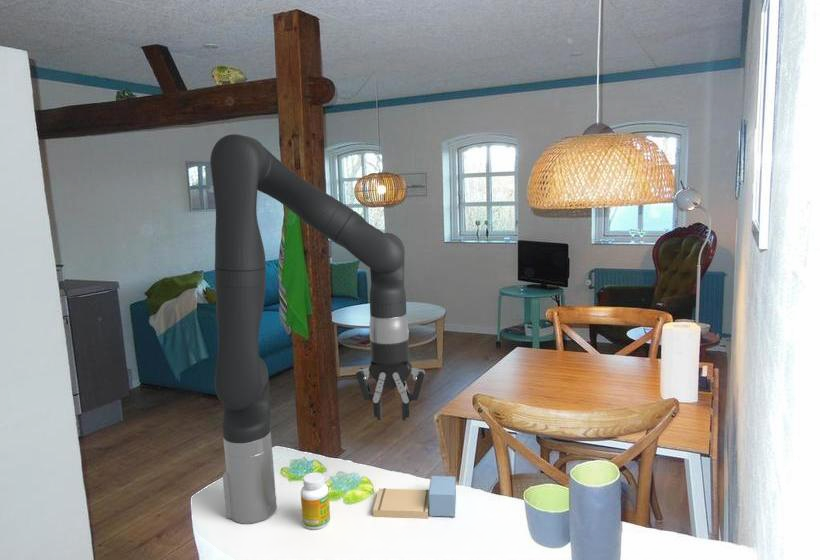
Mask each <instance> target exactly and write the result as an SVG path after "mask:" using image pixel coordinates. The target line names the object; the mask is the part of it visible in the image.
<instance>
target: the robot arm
mask: <svg viewBox="0 0 820 560" xmlns="http://www.w3.org/2000/svg"><path fill="white" fill-rule="evenodd" d="M209 161H210V171H211V180H212V189H213V195H214V206H215V208H214V209H215V228H214V229H215V232H214V233H215V235H214V238H215V239H214V247H215V249H214V250H215V251H214V257H215V258H214V289H215V307H216V310H215V311H216V322H217V333H218V337H217V338H218V340H217V341H218V343H217V357H216V358H217V359H216V366H215V367H216V368H215V375H214V391H215V394H216V396H217V398H218V400H219V401H220V402H221V404H223V415H222V416H223V417H222V424H221V429H222V439H223V448H224V460H225V468H226V470H225V472H224V473H223V474H222V483H223V492H224V493H223V494H224V503H225V513H226V515H225V516H226V519H232V520H233V521H235V522H237V523H240V524H255V523H259V522H262V521H264V520H267V519H268V518H270V517H271V516H272V515H274V514H275V513H276V510H277V495H276V492H277V491H276V482H275V467H274V458H273V457H274V455H273V445H272V444H273V443H272V433H271V431H272V430H271V414H272V413H271V410H272V408H271V407H272V406H271V405H272V404H271V395H270V394H271V390H270V378H269V371H268V367H267V365H266V362H265V361H264V359H262V357H261V356H260V352H259V335H260V328H261V324H262V323H261V321H262V318H263V317H262V316H263V311H264V304H265V297H266V287H267V285H266V282H267V280H266V279H267V277H266V274H267V271H266V269H267V266H266V265H267V261H266V253H265V248H264V242H263V239H262V236H261V230H260V227H259V223H258V222H259V221H258V215H257V214H258V213H257V202H258V200H257V199H258V192H261V193H263V194H265V195H267V196H269V197H271V198H273V199H274V200H276V201H277V202H279V203H280V204H281V205H283V206H285V207H286V208H287V209H289V211H291V212H292V213H294V214H295V215H296V216H297V217H299V219H301V221H303V222H304V223H305V224H307V225H308V227H311V228H312V229H313V230H315V231H316V232H317V233H319V234H321V235H323V237H325V238H327V239H328V240H330V241H332V242H333V243H335V244H337V245H339V246H340V247H343V248H344V249H346V251H348V253H350V254H351V255H352V256H354V257H355V258H356V259H357V260H359V261H360V262H361V263H362V264H364V265H365V266H367V267H368V268H369V270H370V271H369V272H370V289H369V345H370V365H369V367H366V368H365V367H364V368H363V367H359V368H358V370H357V371H356V373H355V376H356V379H357V382H358V384H359V388H360V390H361V393H362V396H363V399H365V401H367V400H369V401H371V402H372V403H373V415H374V418H376V420H377V421H381V420H382V418H383V403H382V402H383V400H382V398H381V397H382V396H381V395H382V392H383V390H384V388H397V391H398V393H399V395H400V396H401V399H402V402H401V417H402V418H401V419H402V421H407V419H409V417H410V414H411V404H410V403H411V402H412V401H418V399H419V395H420V391H421V388H422V384H423V381H424V378H425V373H426V370H425V368H419V369H418V368H415V367H413V366H412V364H411V362H410V347H409V346H410V343H409V335H410V330H409V323H408V322H409V321H408V317H407V295H406V288H405V253H406V252H405V246H404V245H405V244H404V242H402V240H401V238H400V237H399V236H397V235H396V234H393V233H390V232H383V231H381V230H379V228H377V227H375V226H374V225H372V224H370V223H369V222H367V220H366V219H365V218H364V217H363V216H362V215H361V214H360V213H359V212H356V210H353V209H352V208H351V207H349V206H348V205H346V204H344V203H343V202H341V201H339V200H338V199H336V198H335V197H333V196H332V195H330V194H328V193H327V192H325V191H324V190H321V189H320V188H318V187H317V186H315V185H313V184H312V183H310V182H309V181H308V180H305V179H304V178H303V177H300V176H299V175H298V174H296V172H294V171H293V170H291V169H290V168H289V167H287V166H286V165H285V164H284V163H282V161H280V160H279V159H278V158H277V157H276V156H274V155H273V153H272V152H270V151H269V150H268V149H267V148H266V147H265V146H264V145H263V144H262V142H260V141H258V139H256V138H254V137H251V136H248V135H243V134H236V133H234V134H227V135H225V136H222V137H221V138H220V139H219V140H217V142H216V143H215V144H214V146H213V148H212V150H211V154H210V159H209ZM370 375H371V376H372V378H373V379H374V380H375V381H376V386H375V389H374V391H372V389H371V386H370V383H369V377H370ZM410 375H412V379H413V381H415V383H414V387H413V391H409V388H408V384H407V382H406V380H407V379H408V377H409V376H410Z"/></svg>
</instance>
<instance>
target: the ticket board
mask: <svg viewBox="0 0 820 560" xmlns="http://www.w3.org/2000/svg"><path fill="white" fill-rule="evenodd" d="M428 494H429V488H428V489H412V488H411V489H407V488H386V487H385V488H380V487H379V488H378V491H377V495H376V498H375V502H374V504H373V509H372V516H373V518H376V517H377V518H378V517H379V518H401V519H402V518H404V519H429V516H430V509H429V497H428Z"/></svg>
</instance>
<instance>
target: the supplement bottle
mask: <svg viewBox="0 0 820 560" xmlns="http://www.w3.org/2000/svg"><path fill="white" fill-rule="evenodd" d="M302 482H303V483H302V484H303V487H302V488H301V489H300V500H301V501H300V503H301V515H302V517H301V518H302V519H301V520H302V525H303V526H304V527H305V528H307V529H309V530H319V529H320V530H321V529H324V528H325V527H326V526H328V525H329V523H330V522H331V514H330V513H331V511H330V495H329V487H328V485H327V484H326V483H325V477H324V474H323V473H321V472H316V471H315V472H310V473H307V474H305V475H304V476H303V481H302Z"/></svg>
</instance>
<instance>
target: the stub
mask: <svg viewBox="0 0 820 560" xmlns="http://www.w3.org/2000/svg"><path fill="white" fill-rule="evenodd" d="M456 477H457V476H449V475H447V476H445V475H444V476H441V475H431V476H430V481H429V487H428V490H429V494H428V497H429V516H430V517H453V518H454V517H456V500H457V492H456V491H457V490H456V489H457V487H456V485H457V484H456V483H457V482H456V480H457V479H456Z"/></svg>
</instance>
